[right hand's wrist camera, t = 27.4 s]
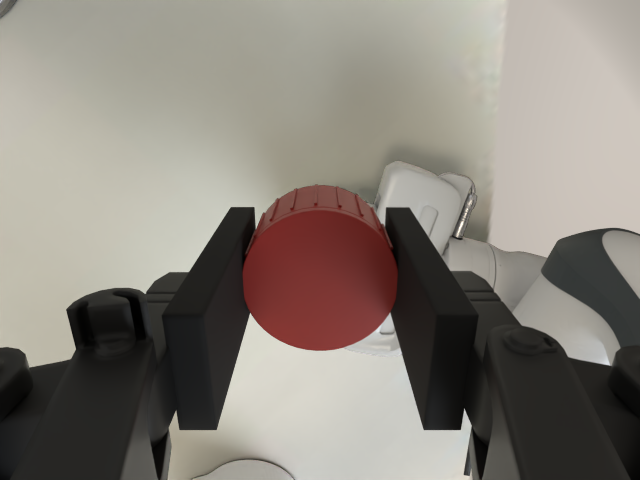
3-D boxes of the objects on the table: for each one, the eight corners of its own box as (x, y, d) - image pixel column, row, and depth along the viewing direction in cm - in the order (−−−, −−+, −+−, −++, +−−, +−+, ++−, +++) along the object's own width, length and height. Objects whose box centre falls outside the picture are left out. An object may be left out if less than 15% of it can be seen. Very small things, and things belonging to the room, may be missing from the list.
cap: (326, 153, 13) (327, 172, 11) (414, 253, 14) (433, 291, 12) (225, 243, 14) (205, 279, 12) (315, 329, 15) (314, 377, 13)
